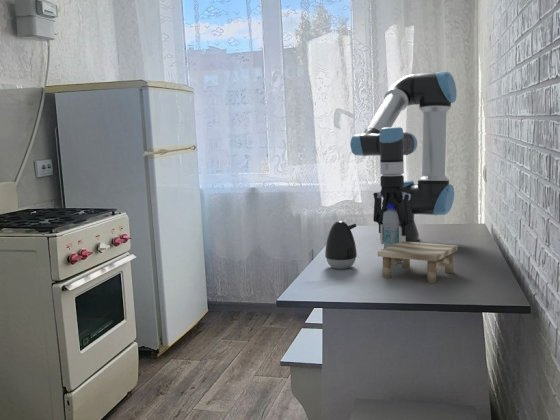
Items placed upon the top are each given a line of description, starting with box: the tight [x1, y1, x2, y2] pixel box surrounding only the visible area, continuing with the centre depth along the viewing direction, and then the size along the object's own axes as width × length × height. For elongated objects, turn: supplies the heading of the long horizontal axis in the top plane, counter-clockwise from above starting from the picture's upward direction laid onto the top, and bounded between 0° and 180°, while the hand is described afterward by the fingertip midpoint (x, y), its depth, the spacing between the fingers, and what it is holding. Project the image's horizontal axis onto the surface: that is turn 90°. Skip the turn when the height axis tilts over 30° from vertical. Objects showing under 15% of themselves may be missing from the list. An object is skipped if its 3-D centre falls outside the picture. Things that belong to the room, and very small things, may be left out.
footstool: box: [377, 241, 459, 284], centre depth 184 cm, size 18×18×8 cm
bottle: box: [382, 203, 401, 249], centre depth 201 cm, size 7×7×20 cm
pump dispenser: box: [324, 220, 358, 270], centre depth 197 cm, size 10×10×15 cm
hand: (393, 244), depth 202 cm, fingers closed on bottle, 6 cm apart
